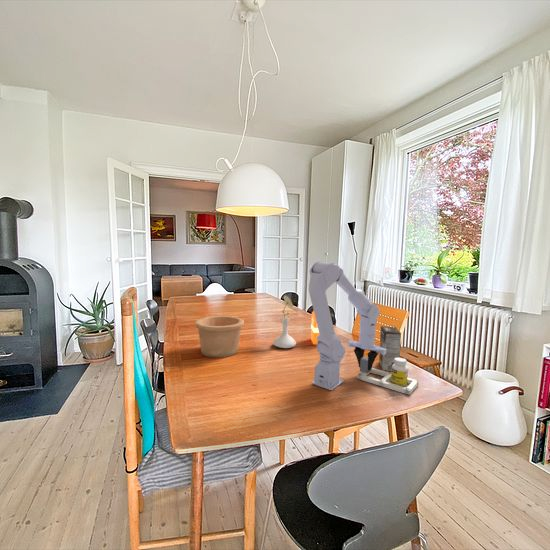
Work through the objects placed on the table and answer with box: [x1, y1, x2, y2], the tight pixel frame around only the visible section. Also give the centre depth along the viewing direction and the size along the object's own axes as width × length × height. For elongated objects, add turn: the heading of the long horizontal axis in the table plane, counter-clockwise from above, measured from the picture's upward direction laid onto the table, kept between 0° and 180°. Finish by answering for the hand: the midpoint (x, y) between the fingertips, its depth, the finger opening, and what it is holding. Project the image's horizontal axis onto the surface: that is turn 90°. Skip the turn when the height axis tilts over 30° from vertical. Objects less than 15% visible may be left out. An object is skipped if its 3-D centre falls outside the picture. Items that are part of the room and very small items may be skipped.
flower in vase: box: [272, 295, 297, 349], centre depth 149 cm, size 13×11×25 cm
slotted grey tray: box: [356, 356, 420, 396], centre depth 112 cm, size 10×20×6 cm, turn 50°
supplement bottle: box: [390, 357, 409, 388], centre depth 109 cm, size 5×5×10 cm
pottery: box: [194, 315, 245, 359], centre depth 140 cm, size 22×22×14 cm
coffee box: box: [378, 325, 402, 372], centre depth 126 cm, size 9×6×16 cm
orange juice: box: [310, 310, 320, 345], centre depth 157 cm, size 8×9×20 cm
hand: (365, 368), depth 117 cm, fingers closed on slotted grey tray, 3 cm apart
